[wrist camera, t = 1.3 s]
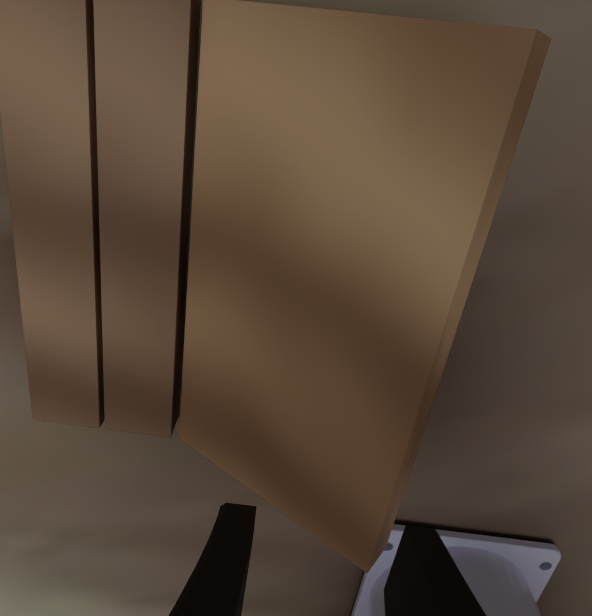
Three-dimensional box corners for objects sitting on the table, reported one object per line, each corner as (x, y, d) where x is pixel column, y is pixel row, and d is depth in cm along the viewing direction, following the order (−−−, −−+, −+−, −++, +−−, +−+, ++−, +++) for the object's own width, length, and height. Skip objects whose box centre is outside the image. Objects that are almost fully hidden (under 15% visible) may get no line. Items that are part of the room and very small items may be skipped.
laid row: (178, 416, 20) (170, 437, 19) (48, 399, 19) (32, 419, 18) (200, 0, 14) (190, -6, 12) (10, -32, 13) (-16, -40, 12)
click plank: (386, 547, 16) (367, 573, 15) (202, 423, 19) (179, 438, 19) (551, 38, 9) (537, 29, 9) (236, 5, 13) (203, -3, 12)
